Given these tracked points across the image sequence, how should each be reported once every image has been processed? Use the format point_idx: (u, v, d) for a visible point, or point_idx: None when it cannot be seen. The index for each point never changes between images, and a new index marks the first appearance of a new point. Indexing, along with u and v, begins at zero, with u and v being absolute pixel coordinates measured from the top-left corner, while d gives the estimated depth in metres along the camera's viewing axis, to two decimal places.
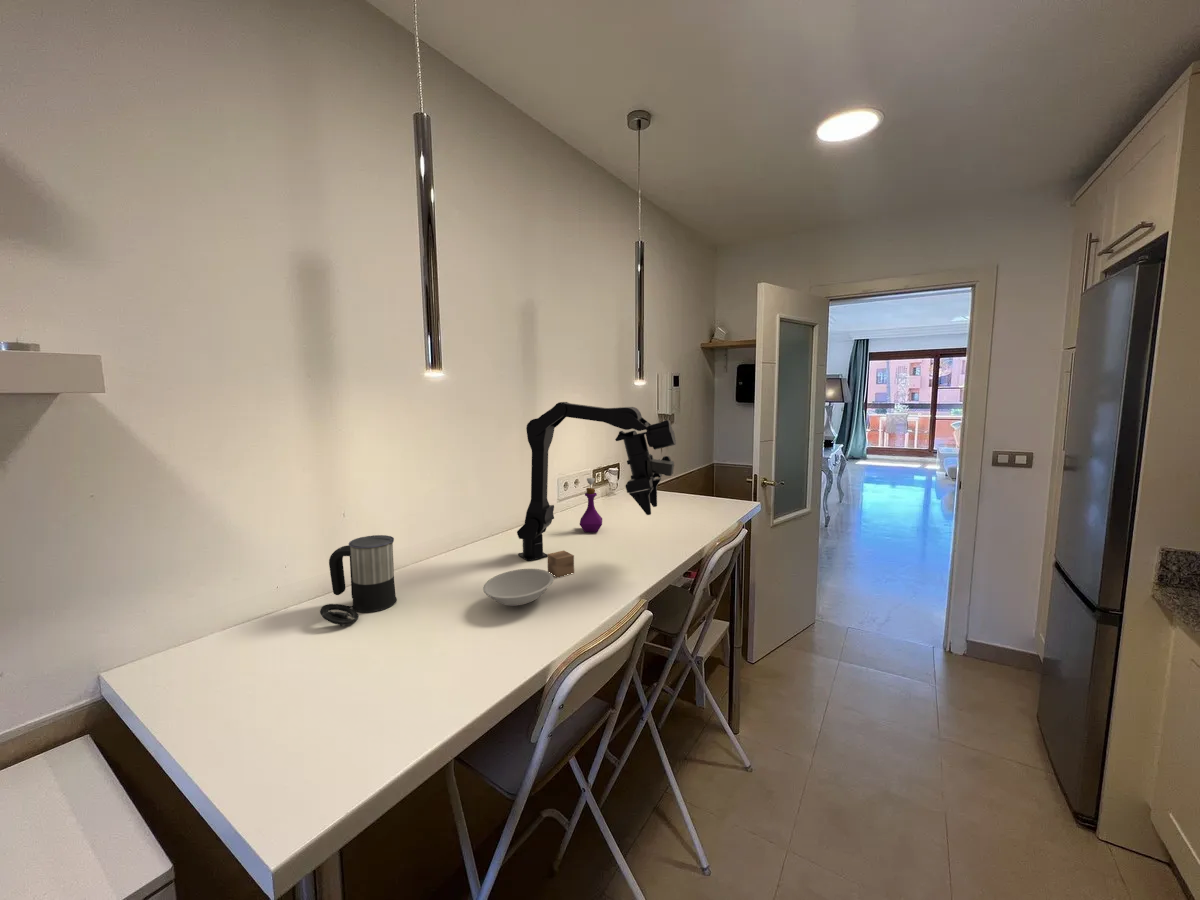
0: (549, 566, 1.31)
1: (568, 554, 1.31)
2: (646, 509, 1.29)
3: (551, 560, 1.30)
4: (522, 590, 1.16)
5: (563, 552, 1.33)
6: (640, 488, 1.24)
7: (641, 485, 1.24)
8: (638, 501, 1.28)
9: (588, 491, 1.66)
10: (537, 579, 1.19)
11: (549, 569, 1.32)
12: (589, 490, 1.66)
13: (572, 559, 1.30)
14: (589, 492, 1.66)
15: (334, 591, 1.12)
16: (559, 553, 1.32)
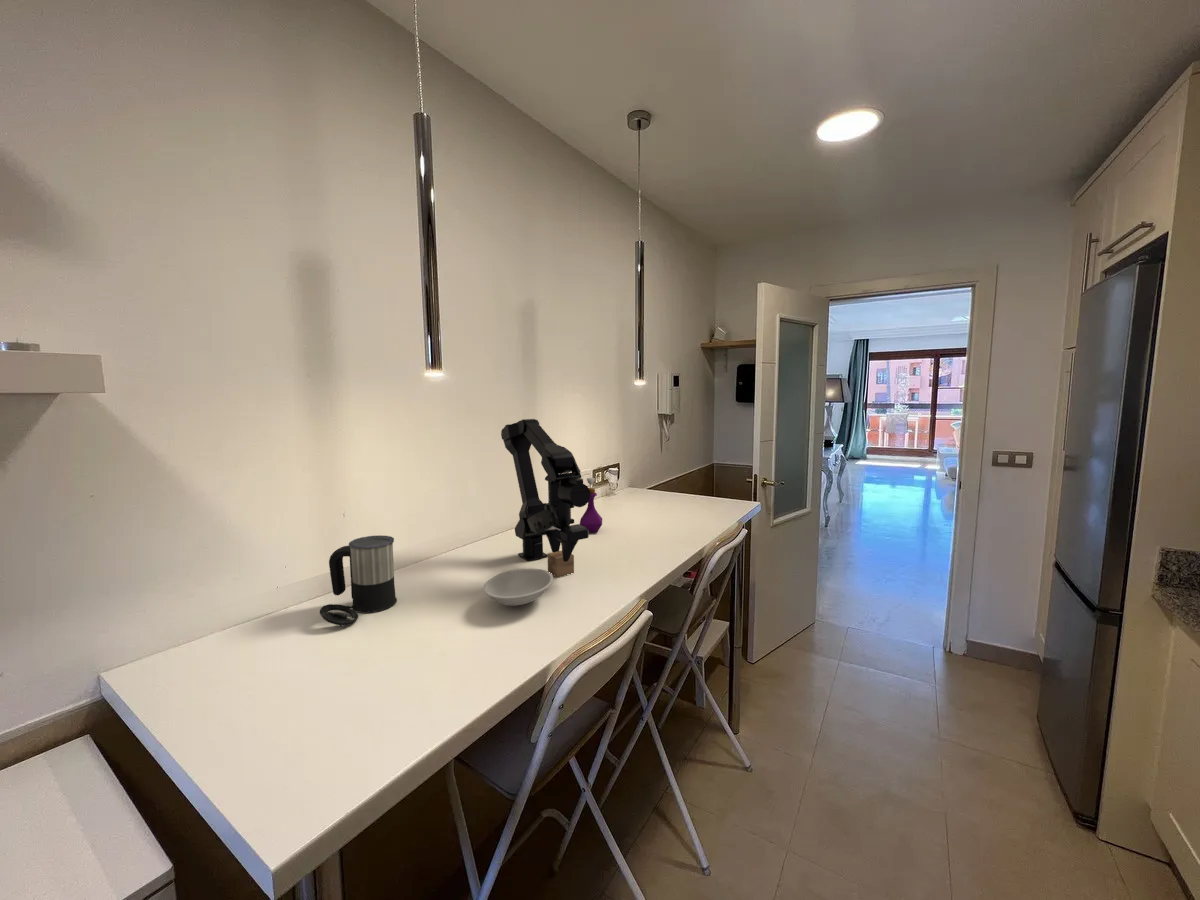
0: (549, 566, 1.31)
1: None
2: None
3: (551, 560, 1.30)
4: (522, 590, 1.16)
5: None
6: None
7: None
8: None
9: None
10: (537, 579, 1.19)
11: (549, 569, 1.32)
12: (589, 490, 1.66)
13: (572, 559, 1.30)
14: None
15: (334, 591, 1.11)
16: (559, 552, 1.32)
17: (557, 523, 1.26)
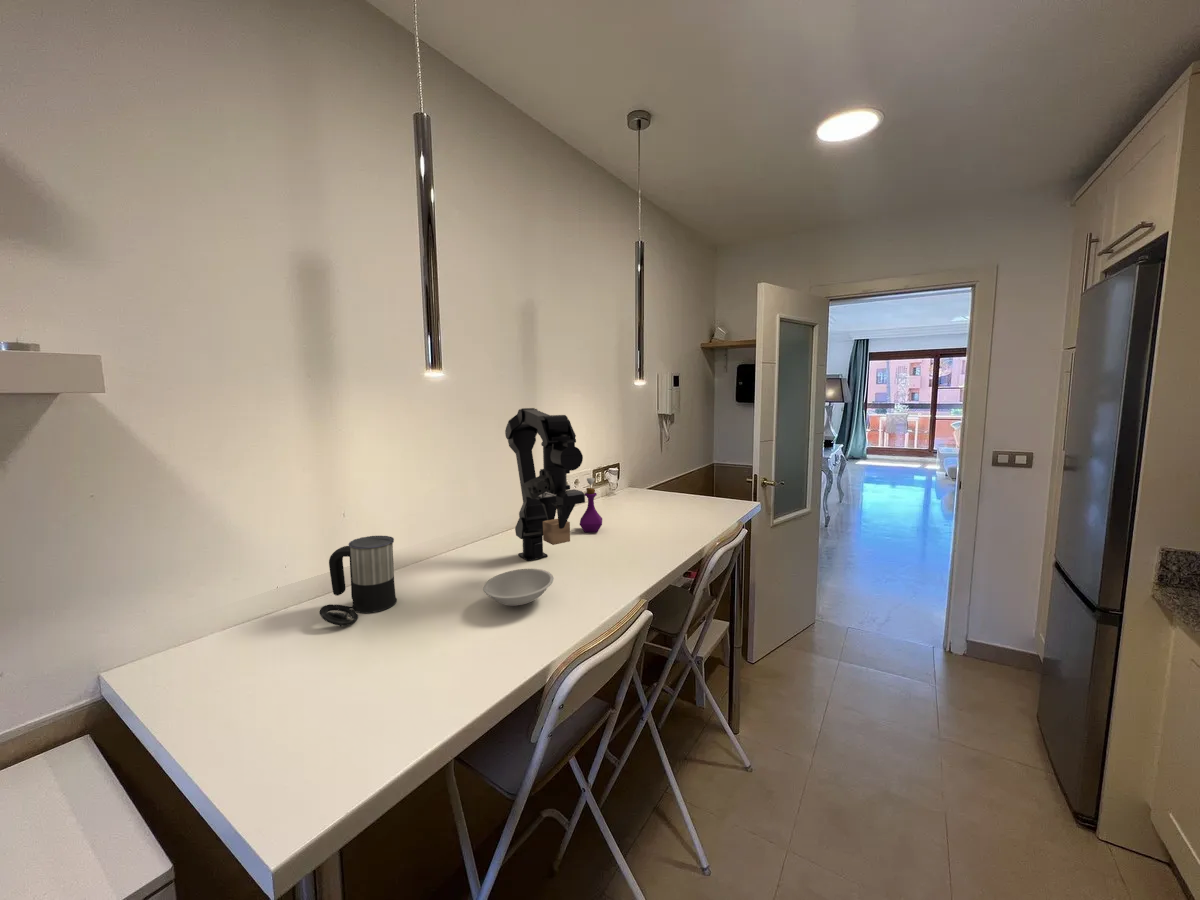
0: (545, 533, 1.28)
1: None
2: None
3: (546, 527, 1.27)
4: (522, 590, 1.16)
5: None
6: None
7: None
8: None
9: (588, 491, 1.66)
10: (537, 579, 1.19)
11: (544, 537, 1.28)
12: (589, 490, 1.66)
13: (568, 526, 1.27)
14: (589, 492, 1.66)
15: (334, 591, 1.11)
16: (555, 520, 1.29)
17: (552, 488, 1.23)
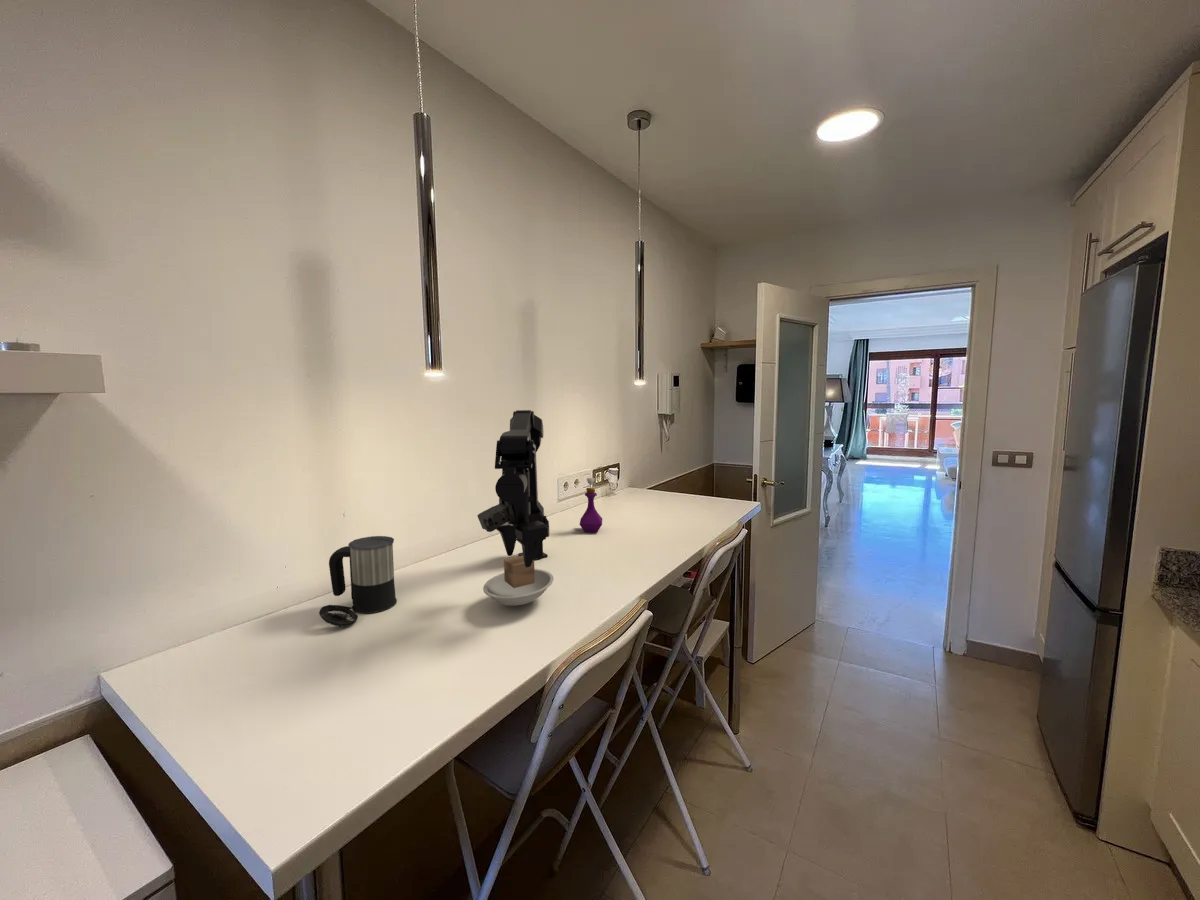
0: (506, 574, 1.12)
1: None
2: None
3: (507, 567, 1.11)
4: (522, 590, 1.16)
5: (523, 557, 1.14)
6: None
7: None
8: None
9: (588, 491, 1.66)
10: (537, 579, 1.19)
11: (505, 577, 1.13)
12: (589, 490, 1.66)
13: (532, 566, 1.11)
14: (589, 492, 1.66)
15: (334, 592, 1.11)
16: (518, 558, 1.13)
17: (512, 519, 1.07)
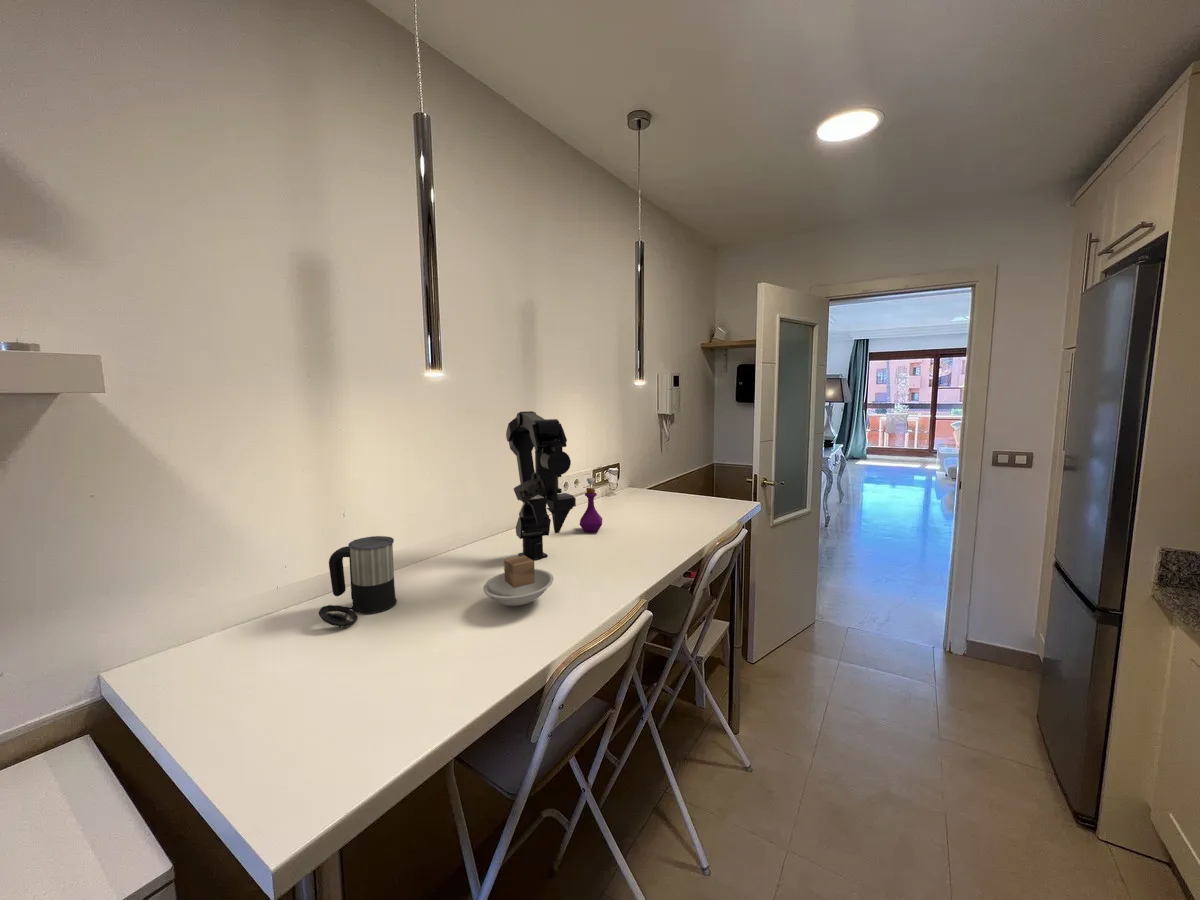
0: (506, 574, 1.12)
1: (528, 560, 1.12)
2: None
3: (508, 567, 1.11)
4: (522, 590, 1.16)
5: (523, 557, 1.14)
6: None
7: None
8: None
9: (588, 491, 1.66)
10: (537, 579, 1.19)
11: (505, 577, 1.13)
12: (589, 490, 1.66)
13: (532, 566, 1.11)
14: (589, 492, 1.66)
15: (334, 592, 1.11)
16: (518, 558, 1.13)
17: (544, 492, 1.24)
